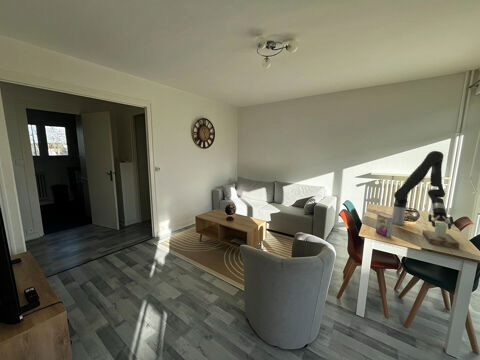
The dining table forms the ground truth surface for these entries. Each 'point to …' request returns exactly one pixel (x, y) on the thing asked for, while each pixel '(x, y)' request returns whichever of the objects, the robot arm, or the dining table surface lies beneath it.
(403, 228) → the dining table surface
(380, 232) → the candy bar box
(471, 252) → the dining table surface
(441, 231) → the sage-green block
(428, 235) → the walnut plinth
